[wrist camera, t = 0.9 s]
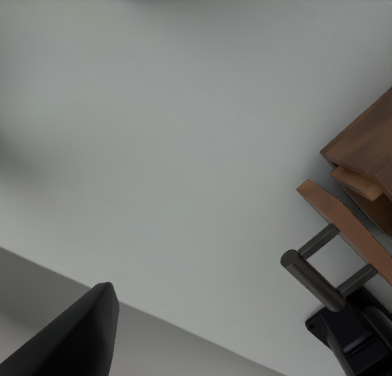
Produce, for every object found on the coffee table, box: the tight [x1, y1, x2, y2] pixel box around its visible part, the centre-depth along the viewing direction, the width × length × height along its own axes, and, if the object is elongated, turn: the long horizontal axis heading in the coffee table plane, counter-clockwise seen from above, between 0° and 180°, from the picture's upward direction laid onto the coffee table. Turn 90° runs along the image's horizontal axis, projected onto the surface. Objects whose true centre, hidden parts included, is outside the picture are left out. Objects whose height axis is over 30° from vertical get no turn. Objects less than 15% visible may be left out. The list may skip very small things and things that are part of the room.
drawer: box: [280, 165, 392, 312], centre depth 19 cm, size 14×8×5 cm, turn 136°
